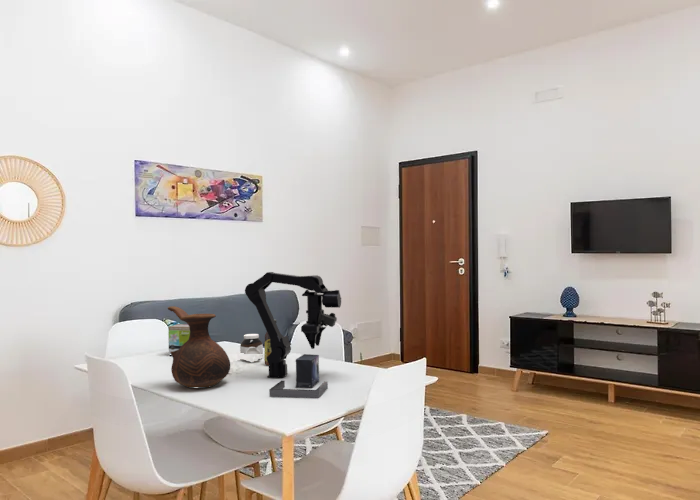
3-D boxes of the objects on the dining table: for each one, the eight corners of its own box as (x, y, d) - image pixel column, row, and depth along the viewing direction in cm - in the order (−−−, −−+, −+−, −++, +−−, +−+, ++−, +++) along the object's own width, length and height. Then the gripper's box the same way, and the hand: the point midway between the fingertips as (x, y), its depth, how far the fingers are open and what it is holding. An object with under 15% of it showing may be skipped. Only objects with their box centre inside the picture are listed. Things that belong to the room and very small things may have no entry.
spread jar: (254, 357, 261) (254, 332, 261) (270, 359, 254) (270, 334, 254) (234, 361, 252) (234, 336, 252) (250, 364, 245) (250, 338, 245)
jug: (211, 375, 224) (210, 302, 224) (241, 383, 208) (239, 304, 208) (160, 385, 209) (158, 306, 209) (188, 395, 193) (186, 310, 193)
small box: (312, 388, 199) (312, 359, 199) (295, 388, 200) (294, 359, 200) (320, 381, 209) (319, 354, 209) (303, 381, 210) (303, 353, 210)
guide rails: (269, 396, 188) (269, 389, 188) (281, 387, 201) (281, 380, 201) (318, 398, 185) (318, 390, 185) (327, 388, 198) (327, 381, 198)
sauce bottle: (267, 366, 239) (266, 321, 239) (262, 364, 244) (261, 319, 244) (281, 364, 242) (280, 319, 242) (276, 362, 247) (275, 318, 247)
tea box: (168, 356, 269) (167, 326, 269) (177, 352, 279) (177, 323, 279) (197, 356, 266) (196, 326, 266) (205, 352, 276) (205, 323, 276)
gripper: (329, 310, 205) (329, 351, 205) (339, 305, 223) (340, 343, 223) (300, 310, 207) (301, 351, 207) (313, 305, 226) (313, 343, 226)
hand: (315, 347), depth 216 cm, fingers open, 7 cm apart
